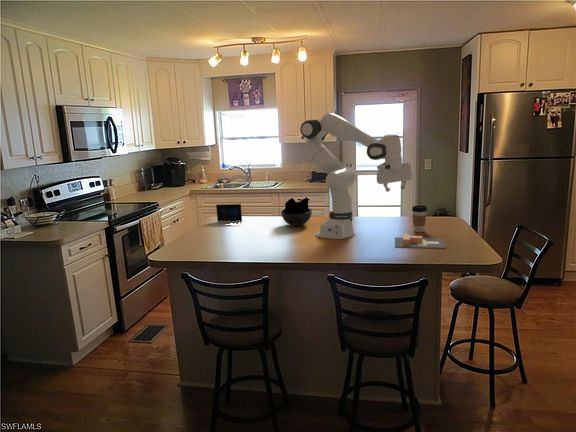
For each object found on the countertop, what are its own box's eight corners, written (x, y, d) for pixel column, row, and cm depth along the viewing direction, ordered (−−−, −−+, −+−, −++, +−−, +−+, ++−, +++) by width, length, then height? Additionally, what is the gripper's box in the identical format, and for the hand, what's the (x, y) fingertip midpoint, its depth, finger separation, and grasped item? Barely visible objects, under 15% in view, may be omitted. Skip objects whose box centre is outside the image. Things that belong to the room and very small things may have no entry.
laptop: (211, 226, 287) (210, 208, 284) (217, 222, 299) (216, 204, 296) (237, 226, 284) (235, 207, 281) (242, 222, 296) (241, 204, 293)
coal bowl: (276, 228, 272) (275, 200, 267) (288, 221, 289) (287, 194, 285) (306, 230, 264) (305, 200, 260) (316, 223, 282) (315, 195, 278)
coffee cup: (427, 232, 245) (427, 207, 242) (412, 232, 247) (412, 207, 244) (425, 229, 253) (426, 204, 250) (411, 229, 255) (411, 204, 252)
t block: (403, 244, 223) (403, 239, 222) (402, 239, 233) (402, 233, 232) (422, 245, 220) (423, 239, 220) (421, 239, 231) (421, 234, 230)
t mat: (395, 247, 220) (395, 246, 220) (394, 238, 237) (394, 237, 237) (446, 248, 215) (446, 247, 214) (441, 239, 232) (441, 238, 232)
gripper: (406, 162, 232) (408, 187, 235) (374, 166, 226) (376, 192, 228) (413, 162, 226) (415, 188, 229) (380, 167, 220) (382, 193, 223)
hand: (395, 190), depth 229 cm, fingers open, 8 cm apart
